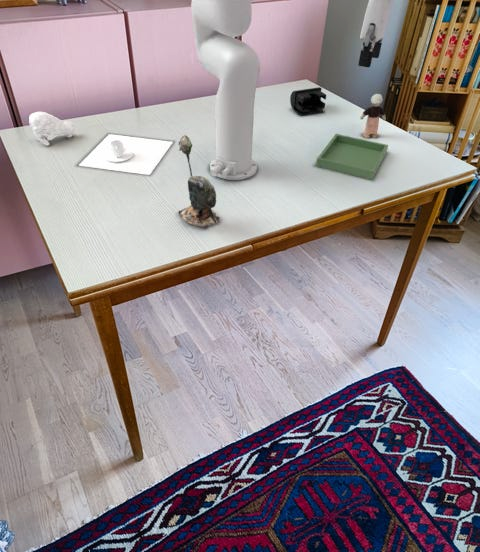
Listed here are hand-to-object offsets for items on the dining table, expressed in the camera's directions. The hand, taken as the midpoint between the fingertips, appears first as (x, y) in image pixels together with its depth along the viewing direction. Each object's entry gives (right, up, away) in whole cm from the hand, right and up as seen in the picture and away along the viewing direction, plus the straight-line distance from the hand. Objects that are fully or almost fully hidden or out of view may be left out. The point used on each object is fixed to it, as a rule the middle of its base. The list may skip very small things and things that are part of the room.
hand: (368, 61), depth 128 cm
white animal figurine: (-89, -20, +7) cm, 91 cm away
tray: (-4, -26, +2) cm, 27 cm away
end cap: (-13, -4, +28) cm, 31 cm away
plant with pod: (-45, -47, -22) cm, 68 cm away
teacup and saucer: (-67, -25, +2) cm, 72 cm away
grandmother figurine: (+4, -16, +14) cm, 22 cm away
